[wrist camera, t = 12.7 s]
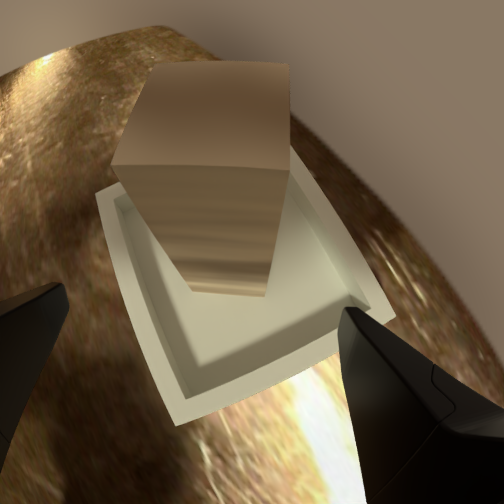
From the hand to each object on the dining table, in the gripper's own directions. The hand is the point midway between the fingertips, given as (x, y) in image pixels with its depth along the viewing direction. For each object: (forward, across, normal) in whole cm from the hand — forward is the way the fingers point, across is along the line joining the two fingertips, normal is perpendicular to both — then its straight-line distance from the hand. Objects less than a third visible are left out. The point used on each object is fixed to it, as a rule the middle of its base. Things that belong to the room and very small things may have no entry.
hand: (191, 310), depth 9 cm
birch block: (+11, 0, +3) cm, 11 cm away
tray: (+11, 0, +4) cm, 12 cm away
